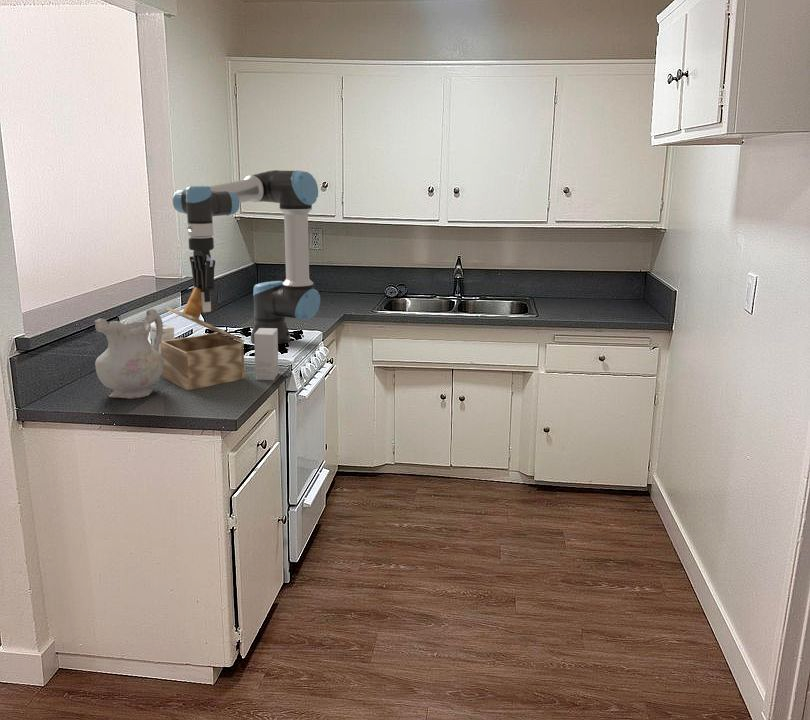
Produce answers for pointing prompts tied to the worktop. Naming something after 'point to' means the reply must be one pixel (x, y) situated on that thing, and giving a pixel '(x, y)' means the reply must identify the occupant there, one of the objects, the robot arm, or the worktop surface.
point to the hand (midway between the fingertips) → (204, 311)
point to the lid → (194, 311)
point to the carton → (202, 360)
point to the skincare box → (266, 353)
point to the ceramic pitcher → (130, 357)
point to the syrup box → (166, 334)
